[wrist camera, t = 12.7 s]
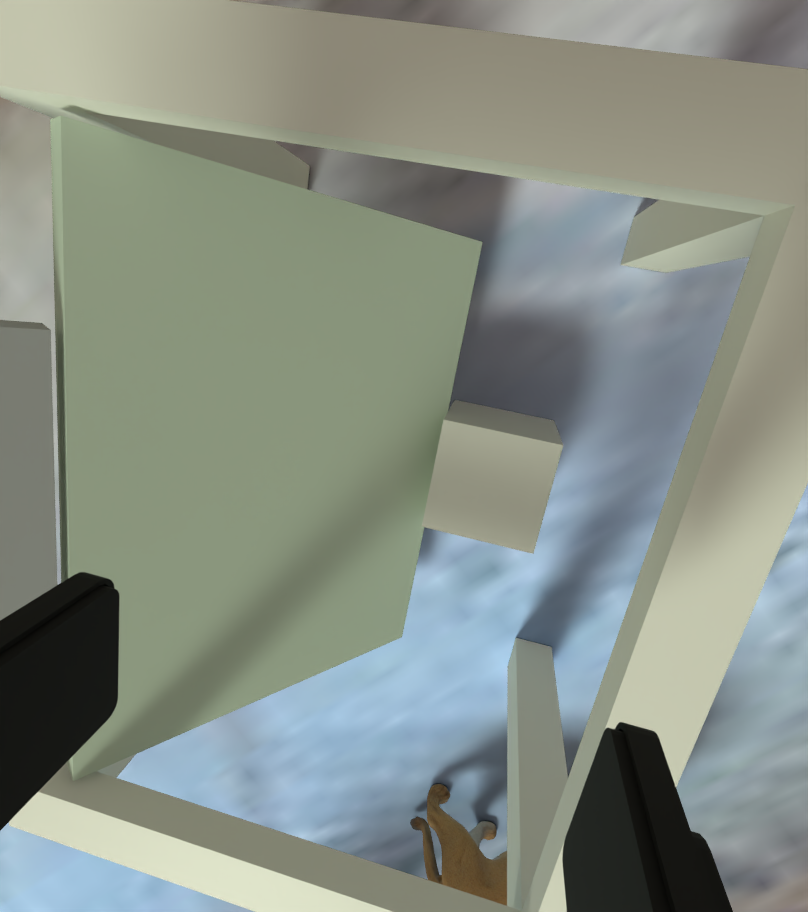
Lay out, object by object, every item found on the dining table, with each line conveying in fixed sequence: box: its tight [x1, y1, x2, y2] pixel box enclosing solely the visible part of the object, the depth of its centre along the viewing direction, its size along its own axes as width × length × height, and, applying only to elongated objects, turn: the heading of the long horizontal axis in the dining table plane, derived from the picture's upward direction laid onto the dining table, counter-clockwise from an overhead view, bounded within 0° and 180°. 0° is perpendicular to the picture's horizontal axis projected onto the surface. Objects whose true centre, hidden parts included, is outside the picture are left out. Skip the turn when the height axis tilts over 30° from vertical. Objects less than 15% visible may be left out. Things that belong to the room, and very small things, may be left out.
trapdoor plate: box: [0, 116, 482, 781], centre depth 17 cm, size 29×19×4 cm
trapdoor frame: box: [0, 0, 808, 912], centre depth 21 cm, size 19×24×16 cm
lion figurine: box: [410, 784, 507, 906], centre depth 29 cm, size 15×5×9 cm, turn 109°
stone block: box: [422, 400, 563, 553], centre depth 25 cm, size 5×5×5 cm
